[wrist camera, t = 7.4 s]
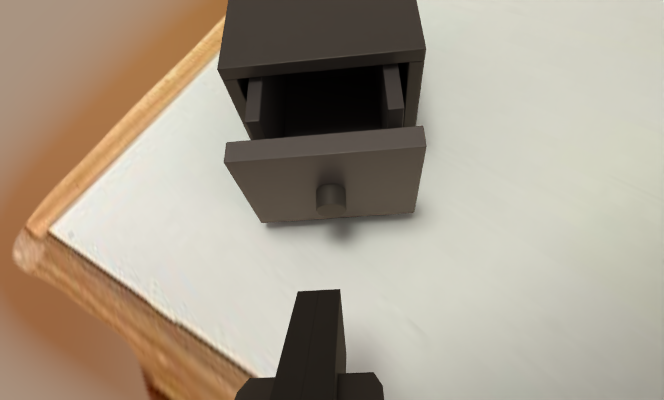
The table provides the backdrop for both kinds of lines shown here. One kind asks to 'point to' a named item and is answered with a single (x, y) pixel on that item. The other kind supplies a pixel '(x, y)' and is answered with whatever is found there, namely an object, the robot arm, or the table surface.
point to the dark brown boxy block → (321, 42)
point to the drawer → (328, 146)
